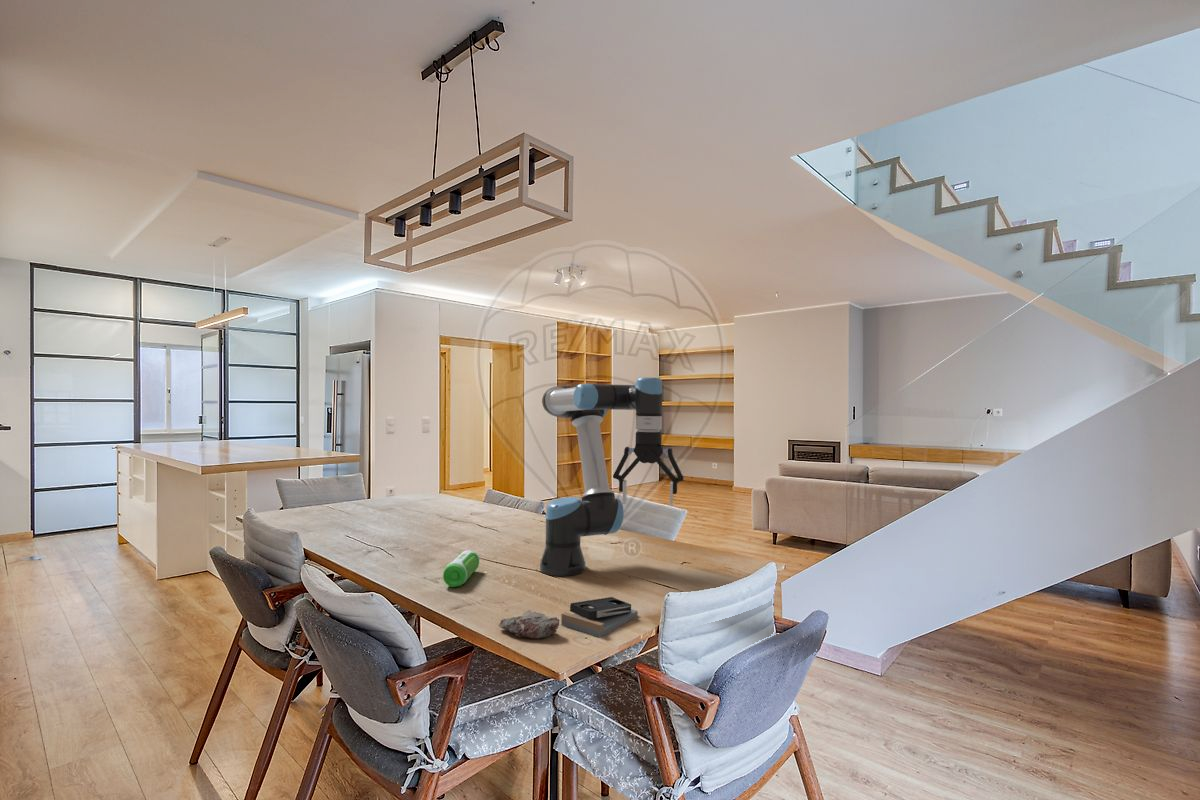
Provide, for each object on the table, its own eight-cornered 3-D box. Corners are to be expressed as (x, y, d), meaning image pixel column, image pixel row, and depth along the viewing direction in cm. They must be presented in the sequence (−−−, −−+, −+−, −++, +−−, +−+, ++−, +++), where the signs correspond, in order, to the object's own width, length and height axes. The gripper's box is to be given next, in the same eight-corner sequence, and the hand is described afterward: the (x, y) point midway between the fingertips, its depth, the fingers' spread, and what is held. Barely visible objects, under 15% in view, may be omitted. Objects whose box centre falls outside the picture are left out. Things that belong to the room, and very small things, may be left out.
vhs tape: (589, 619, 138) (590, 611, 138) (569, 611, 144) (570, 603, 144) (631, 612, 147) (631, 604, 147) (611, 604, 153) (611, 596, 153)
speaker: (465, 589, 168) (465, 564, 168) (441, 588, 168) (441, 563, 168) (480, 571, 185) (480, 548, 185) (458, 571, 186) (459, 548, 186)
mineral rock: (494, 633, 137) (494, 614, 137) (515, 622, 144) (516, 604, 144) (542, 648, 129) (543, 628, 129) (563, 635, 136) (563, 617, 136)
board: (561, 624, 142) (561, 613, 142) (603, 603, 157) (603, 593, 157) (600, 637, 135) (600, 625, 135) (640, 613, 150) (640, 603, 150)
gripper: (604, 430, 162) (603, 504, 162) (692, 432, 157) (691, 508, 157) (608, 429, 169) (607, 500, 169) (692, 431, 165) (691, 503, 165)
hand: (647, 504), depth 163 cm, fingers open, 13 cm apart
